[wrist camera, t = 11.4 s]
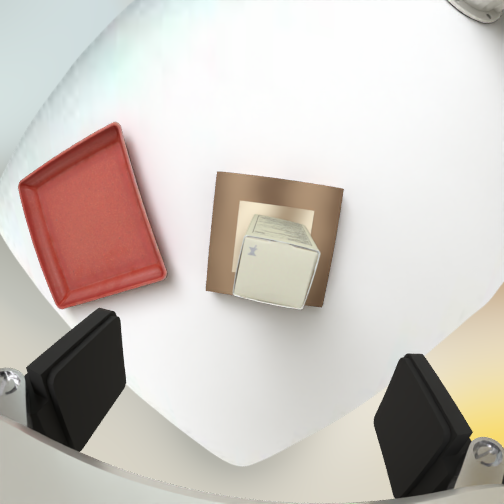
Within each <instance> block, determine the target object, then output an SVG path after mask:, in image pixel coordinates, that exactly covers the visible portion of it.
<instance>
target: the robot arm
mask: <svg viewBox="0 0 504 504" xmlns="http://www.w3.org/2000/svg"><path fill="white" fill-rule="evenodd" d="M448 1H449V2H450V3H451V4H452V5H453V6H455V7H456V8H457V9H458V10H460V11H461V12H463V13H464V14H466V15H467V16H469V17H471V18H473V19H475V20H477V21H480V22H484V23H492V22H495V21H496V20H498V19H499V18H500V17H501V14H502V10H504V0H448ZM26 369H27V372H28V373H27V374H26V375H25V376H23V374H22V373H21V372H20V371H18V370H16V369H13V368H1V369H0V504H316V503H288V502H274V501H263V500H253V499H245V498H238V497H231V496H225V495H219V494H214V493H208V492H203V491H199V490H194V489H189V488H185V487H181V486H177V485H173V484H169V483H165V482H162V481H158V480H155V479H151V478H148V477H144V476H141V475H138V474H135V473H132V472H129V471H126V470H123V469H121V468H118V467H115V466H112V465H110V464H107V463H105V462H102V461H99V460H97V459H94V458H92V457H90V456H88V455H85V454H83V453H80V451H81V450H82V449H83V448H84V446H85V444H86V443H87V442H88V440H89V439H90V437H91V436H92V434H93V433H94V431H95V430H96V428H97V427H98V426H99V424H100V423H101V421H102V420H103V418H104V417H105V415H106V414H107V412H108V411H109V409H110V408H111V407H112V405H113V404H114V402H115V401H116V399H117V398H118V397H119V395H120V394H121V392H122V391H123V389H124V387H125V384H126V375H125V367H124V357H123V347H122V335H121V322H120V318H119V317H117V316H116V313H115V312H114V311H110V310H106V309H102V308H98V309H97V310H95V311H94V312H93V313H92V314H90V315H89V316H88V317H87V318H85V319H84V320H83V321H82V322H80V323H79V324H78V325H77V326H75V327H74V328H73V329H72V330H71V331H69V332H68V333H67V334H66V335H65V336H63V337H62V338H61V339H59V340H58V341H57V342H56V343H55V344H54V345H52V346H51V347H50V348H49V349H47V350H46V351H45V352H44V353H43V354H41V355H40V356H39V357H38V358H37V359H36V360H34V361H33V362H32V363H31V364H30V365H29V366H27V367H26ZM374 427H375V431H376V434H377V437H378V441H379V444H380V448H381V451H382V455H383V458H384V462H385V465H386V469H387V473H388V477H389V480H390V484H391V488H392V492H393V495H394V497H395V498H396V499H390V500H382V501H381V500H380V501H370V502H356V503H325V504H504V448H503V447H502V446H501V445H500V444H499V443H498V442H497V441H495V440H493V439H491V438H487V437H479V438H476V439H474V440H473V441H472V442H471V440H470V438H469V437H470V436H471V434H472V433H473V432H472V430H471V429H470V427H469V425H468V423H467V422H466V420H465V419H464V417H463V415H462V414H461V412H460V410H459V409H458V407H457V406H456V404H455V402H454V401H453V399H452V398H451V396H450V395H449V393H448V391H447V390H446V388H445V387H444V385H443V384H442V382H441V380H440V379H439V377H438V376H437V374H436V373H435V371H434V370H433V369H432V367H431V365H430V364H429V363H428V361H427V360H426V358H425V357H424V355H423V354H406V355H405V356H404V358H400V360H399V361H398V364H397V366H396V369H395V371H394V374H393V376H392V379H391V381H390V384H389V386H388V388H387V391H386V393H385V395H384V397H383V400H382V402H381V404H380V406H379V408H378V410H377V413H376V415H375V417H374ZM317 504H319V503H317ZM320 504H322V503H320ZM323 504H324V503H323Z"/></svg>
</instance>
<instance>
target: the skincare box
mask: <svg viewBox="0 0 504 504" xmlns="http://www.w3.org/2000/svg"><path fill="white" fill-rule="evenodd" d="M320 254H321V253H320V251H319V249H318V247H317V246H316V244H315V242H314V240H313V239H312V237H311V235H310V234H309V232H308V230H307V228H306V226H305V225H303V224H299V223H295V222H291V221H287V220H283V219H278V218H274V217H269V216H264V215H258V214H255V215H254V216H253V218H252V220H251V223H250V225H249V227H248V229H247V232H246V234H245V236H244V238H243V242H242V246H241V250H240V255H239V259H238V263H237V268H236V273H235V279H234V286H233V295H234V296H237V297H241V298H245V299H248V300H253V301H257V302H261V303H266V304H271V305H276V306H281V307H286V308H293V309H300V310H302V309H303V307H304V304H305V302H306V299H307V296H308V293H309V290H310V287H311V285H312V282H313V278H314V275H315V272H316V269H317V265H318V262H319V258H320Z"/></svg>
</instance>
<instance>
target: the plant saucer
mask: <svg viewBox="0 0 504 504" xmlns="http://www.w3.org/2000/svg"><path fill="white" fill-rule="evenodd" d="M18 190H19V194H20V199H21V203H22V207H23V210H24V214H25V218H26V222H27V225H28V228H29V232H30V235H31V238H32V242H33V245H34V248H35V251H36V254H37V257H38V260H39V263H40V266H41V268H42V271H43V274H44V276H45V279H46V282H47V284H48V287H49V289H50V292H51V294H52V297H53V299H54V302H55V304H56V305H57V307H58V308H59V309H65V308H68V307H72V306H76V305H79V304H83V303H86V302H90V301H94V300H97V299H100V298H104V297H107V296H110V295H114V294H118V293H121V292H124V291H127V290H131V289H134V288H138V287H141V286H145V285H148V284H152V283H156V282H159V281H162V280H164V279H165V278H166V277H167V270H166V267H165V265H164V262H163V259H162V256H161V254H160V251H159V248H158V245H157V243H156V240H155V237H154V234H153V231H152V228H151V225H150V222H149V220H148V217H147V214H146V211H145V208H144V204H143V201H142V198H141V195H140V192H139V188H138V185H137V182H136V179H135V175H134V172H133V169H132V165H131V162H130V158H129V155H128V151H127V148H126V144H125V140H124V136H123V133H122V129H121V125H120V124H119V123H117V122H113V123H111V124H109V125H107V126H105V127H104V128H102V129H100V130H98V131H96V132H94V133H93V134H91V135H89V136H88V137H86V138H84V139H83V140H81V141H79V142H77V143H76V144H74V145H72V146H71V147H70V148H68V149H66V150H65V151H63V152H61V153H60V154H59V155H57V156H55V157H54V158H52V159H51V160H49V161H48V162H46V163H45V164H43V165H42V166H41V167H39V168H37V169H36V170H35V171H33V172H32V173H30V174H29V175H28V176H26V177H25V178H24V179H22V180H21V181H20V182H19V185H18Z"/></svg>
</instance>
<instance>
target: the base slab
mask: <svg viewBox="0 0 504 504" xmlns="http://www.w3.org/2000/svg"><path fill="white" fill-rule="evenodd" d="M343 190H344V189H341V188H336V187H330V186H324V185H318V184H312V183H305V182H299V181H292V180H285V179H278V178H270V177H263V176H255V175H246V174H238V173H228V172H217V177H216V186H215V195H214V205H213V215H212V225H211V235H210V246H209V257H208V268H207V281H206V291H211V292H217V293H223V294H230V295H233V286H234V279H235V273H236V268H237V263H238V259H239V255H240V250H241V246H242V242H243V238H244V236H245V234H246V232H247V229H248V227H249V225H250V223H251V220H252V218H253V216H254V215H255V214H258V215H264V216H269V217H274V218H278V219H283V220H287V221H291V222H295V223H299V224H303V225H305V226H306V228H307V230H308V232H309V234H310V235H311V237H312V239H313V240H314V242H315V244H316V246H317V247H318V249H319V251H320V253H321V254H320V258H319V262H318V265H317V269H316V272H315V275H314V278H313V282H312V285H311V287H310V290H309V293H308V296H307V299H306V302H305V304H304V305H307V306H315V307H322V305H323V301H324V296H325V291H326V287H327V282H328V277H329V272H330V267H331V261H332V256H333V251H334V245H335V240H336V234H337V228H338V222H339V216H340V210H341V203H342V197H343Z"/></svg>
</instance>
